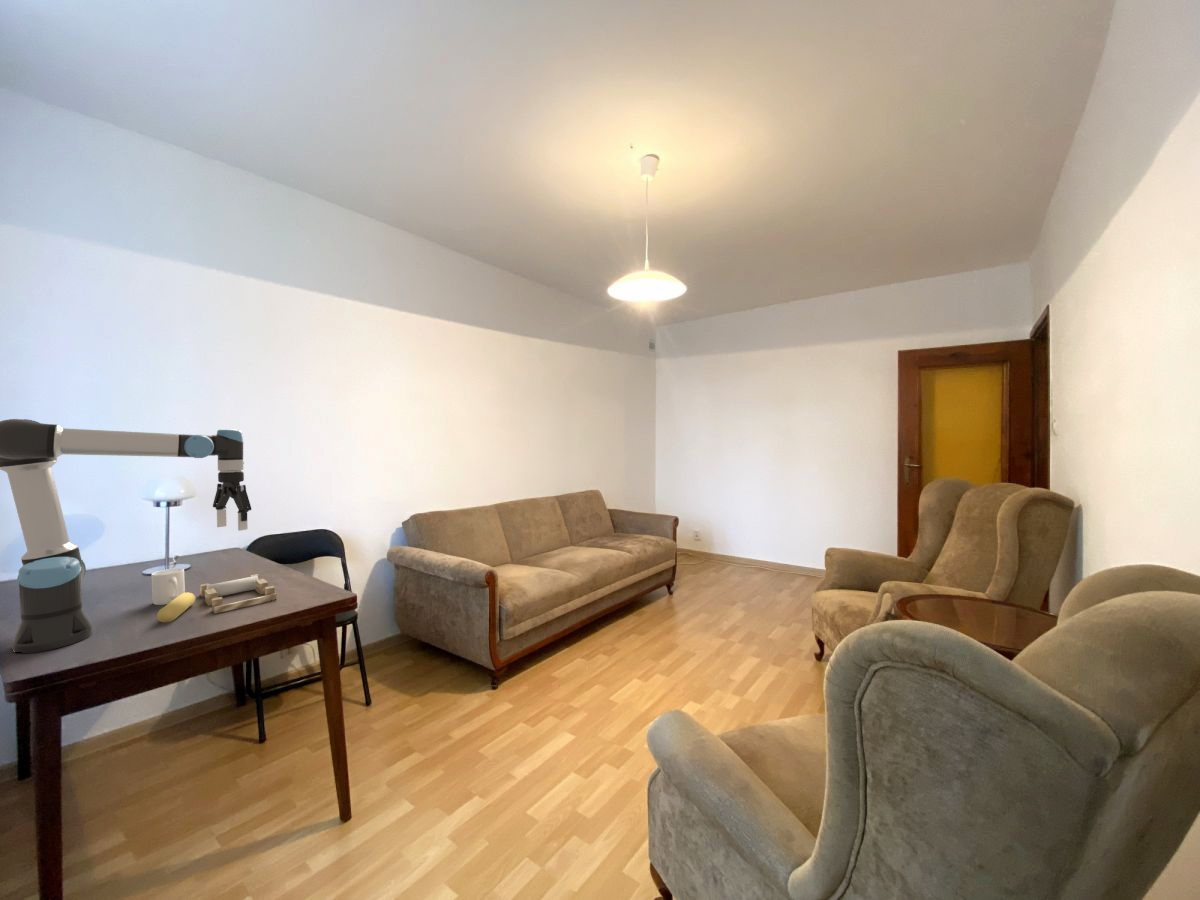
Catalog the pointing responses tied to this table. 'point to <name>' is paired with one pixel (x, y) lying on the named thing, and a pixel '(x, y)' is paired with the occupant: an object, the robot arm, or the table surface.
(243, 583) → the white cylinder
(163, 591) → the mug
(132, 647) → the table surface
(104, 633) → the table surface
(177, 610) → the yellow cylinder
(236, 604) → the wooden rack
